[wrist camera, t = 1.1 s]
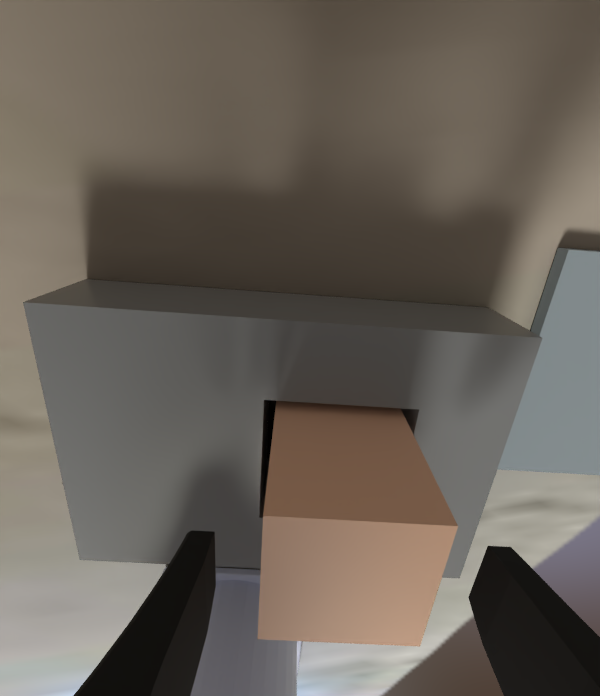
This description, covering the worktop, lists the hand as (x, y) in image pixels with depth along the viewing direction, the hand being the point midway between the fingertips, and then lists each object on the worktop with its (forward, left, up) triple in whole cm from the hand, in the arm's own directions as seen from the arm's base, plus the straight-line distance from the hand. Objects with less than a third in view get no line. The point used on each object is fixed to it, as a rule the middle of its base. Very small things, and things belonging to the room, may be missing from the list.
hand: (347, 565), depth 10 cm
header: (0, +2, -7) cm, 8 cm away
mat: (+3, -12, -7) cm, 14 cm away
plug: (0, 0, -8) cm, 8 cm away
